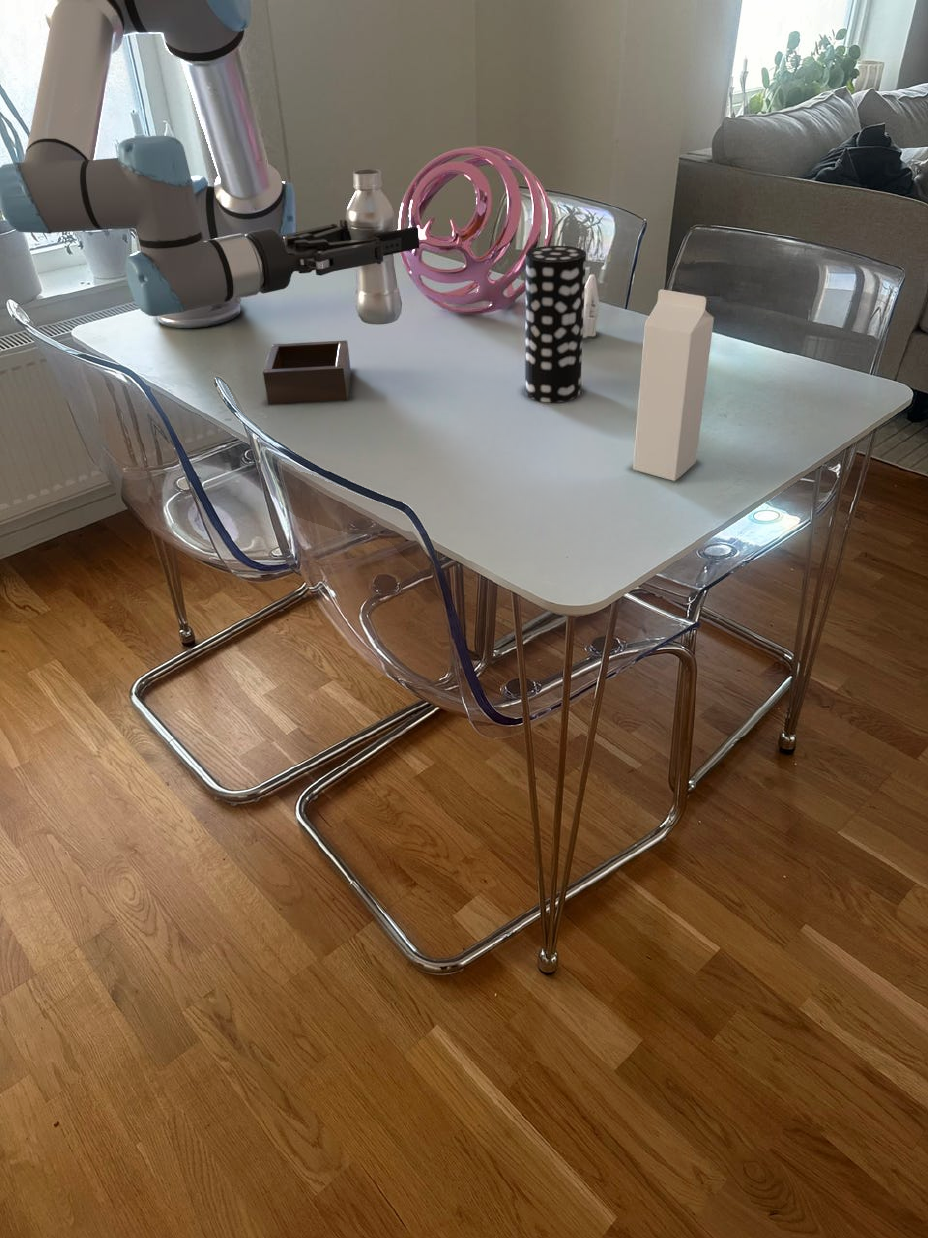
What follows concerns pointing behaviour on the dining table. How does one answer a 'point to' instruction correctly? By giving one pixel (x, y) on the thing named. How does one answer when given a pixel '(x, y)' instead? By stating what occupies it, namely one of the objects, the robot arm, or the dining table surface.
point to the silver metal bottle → (375, 280)
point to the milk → (672, 384)
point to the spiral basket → (472, 230)
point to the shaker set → (590, 307)
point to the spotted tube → (554, 322)
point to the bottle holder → (307, 372)
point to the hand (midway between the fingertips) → (404, 232)
